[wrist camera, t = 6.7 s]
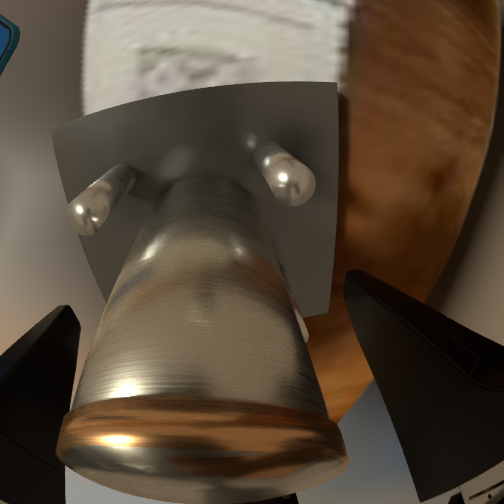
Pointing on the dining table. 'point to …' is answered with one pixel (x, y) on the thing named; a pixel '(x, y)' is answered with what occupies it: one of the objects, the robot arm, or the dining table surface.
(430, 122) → the dining table surface
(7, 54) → the smartphone
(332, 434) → the canister
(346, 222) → the dining table surface
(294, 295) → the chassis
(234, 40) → the dining table surface
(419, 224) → the dining table surface
